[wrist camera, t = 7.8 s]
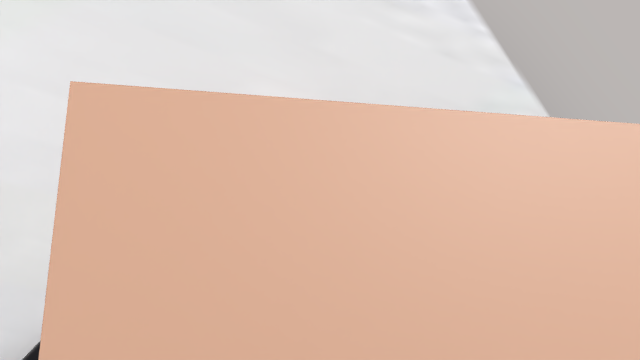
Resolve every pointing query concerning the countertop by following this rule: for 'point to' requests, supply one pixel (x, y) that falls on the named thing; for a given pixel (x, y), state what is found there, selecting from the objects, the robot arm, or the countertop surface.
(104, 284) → the peach block
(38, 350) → the robot arm
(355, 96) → the countertop surface
